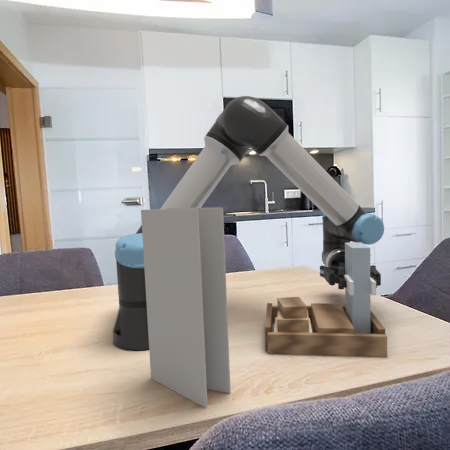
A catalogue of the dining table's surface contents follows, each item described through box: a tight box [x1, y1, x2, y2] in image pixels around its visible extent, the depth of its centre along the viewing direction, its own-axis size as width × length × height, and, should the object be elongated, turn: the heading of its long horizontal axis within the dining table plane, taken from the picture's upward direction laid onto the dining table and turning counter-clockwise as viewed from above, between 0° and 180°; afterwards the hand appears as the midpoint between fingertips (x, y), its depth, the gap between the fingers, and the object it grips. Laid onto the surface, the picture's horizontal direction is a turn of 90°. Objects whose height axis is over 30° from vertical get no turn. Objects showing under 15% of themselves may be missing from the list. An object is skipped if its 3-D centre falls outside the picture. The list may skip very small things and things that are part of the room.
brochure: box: [140, 207, 232, 409], centre depth 60 cm, size 14×6×30 cm, turn 47°
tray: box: [264, 302, 388, 358], centre depth 79 cm, size 23×18×5 cm
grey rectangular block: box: [344, 242, 371, 334], centre depth 77 cm, size 4×8×20 cm, turn 171°
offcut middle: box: [277, 310, 309, 333], centre depth 79 cm, size 6×9×3 cm
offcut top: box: [276, 296, 308, 319], centre depth 79 cm, size 5×7×2 cm
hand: (362, 288), depth 71 cm, fingers closed on grey rectangular block, 3 cm apart
